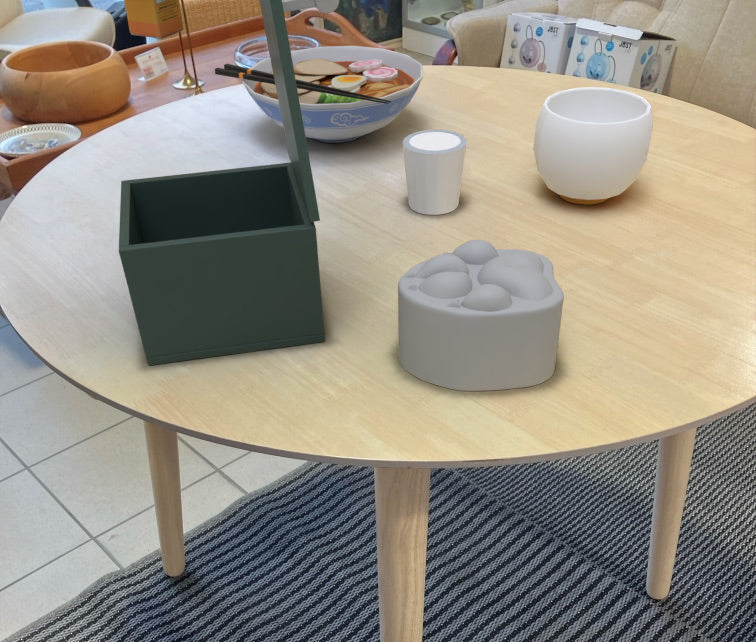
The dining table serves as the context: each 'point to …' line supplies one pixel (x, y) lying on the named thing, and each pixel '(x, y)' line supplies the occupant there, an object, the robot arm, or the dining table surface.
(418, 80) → the ramen bowl
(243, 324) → the chest
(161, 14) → the supplement box
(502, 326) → the lumpy-topped squat cylinder
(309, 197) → the lid
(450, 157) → the shot glass
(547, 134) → the cup
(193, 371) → the dining table surface
